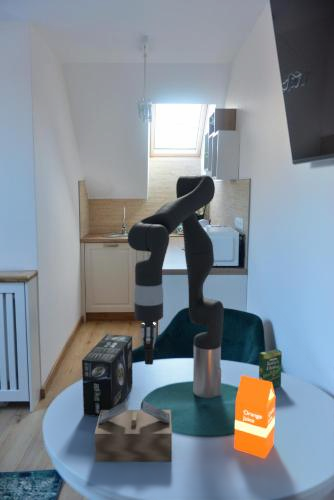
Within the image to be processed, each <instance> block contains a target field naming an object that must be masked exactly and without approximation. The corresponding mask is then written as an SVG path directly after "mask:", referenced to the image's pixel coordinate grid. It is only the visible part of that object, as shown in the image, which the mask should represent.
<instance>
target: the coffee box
mask: <svg viewBox="0 0 334 500" xmlns="http://www.w3.org/2000/svg"><path fill="white" fill-rule="evenodd" d="M258 354H259V359H258V360H259V361H258V362H259V363H258V379H260V380H265V381H269V382H272V385H273V388H275V387H276V388H277V387H281V385H282V358H283V357H282V351H281V350H280V349H278V348H277V349H273V350H268V351H262V352H259V353H258Z"/></svg>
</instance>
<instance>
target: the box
mask: <svg viewBox="0 0 334 500" xmlns="http://www.w3.org/2000/svg"><path fill="white" fill-rule="evenodd" d="M81 374H82V376H81V378H82V403H83V406H82V407H83V415H84V416H91V417H92V416H93V417H99V415H100V411H101V410H110V409H112V408H114V407H115V406H117V405H119V404H121V403H123V402H124V400H125V399H126V397H127V396H128V394H129V392H130V391H131V389H132V387H133V383H134V382H133V336H132V335H125V334H123V335H122V334H111V333H106V334H105V335H104V337H102V338H101V340H99V341H98V343H96V344H95V346H94V347H93V348H91V350H90V351H89V352H88V353H87V354H86V355H85V356H84V357H83V358H82V359H81Z"/></svg>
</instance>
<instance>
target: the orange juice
mask: <svg viewBox="0 0 334 500" xmlns="http://www.w3.org/2000/svg"><path fill="white" fill-rule="evenodd" d="M275 394H276V393H275V390H274V387H273V385H272V382H269V381H265V380H260V379H259V378H255V377H252V376H248V375H242V374H241V376H240V381H239V385H238V389H237V392H236V397H235V408H234V409H235V414H234V416H235V417H234V418H235V419H234V444H233V445H234V446H233V448H234V449H235V450H237V451H240V452H244V453H246V454H248V455H249V454H250V455H253V456H255V457H258V458H262V459H266V458H267V456H268V454H269V453H270V452H271V450H272V448H273V445H274V440H275V424H276V423H275V421H276V415H275V414H276V395H275Z"/></svg>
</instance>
